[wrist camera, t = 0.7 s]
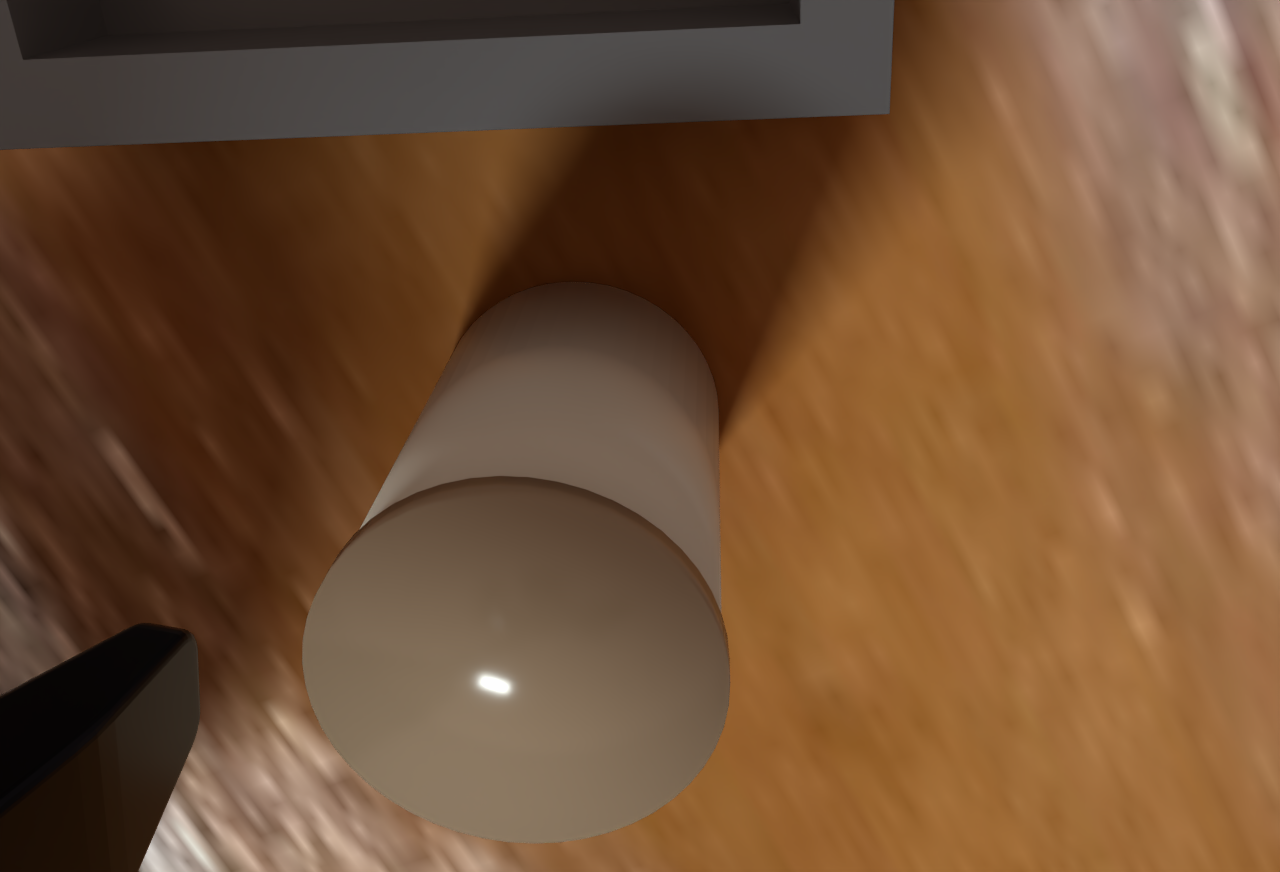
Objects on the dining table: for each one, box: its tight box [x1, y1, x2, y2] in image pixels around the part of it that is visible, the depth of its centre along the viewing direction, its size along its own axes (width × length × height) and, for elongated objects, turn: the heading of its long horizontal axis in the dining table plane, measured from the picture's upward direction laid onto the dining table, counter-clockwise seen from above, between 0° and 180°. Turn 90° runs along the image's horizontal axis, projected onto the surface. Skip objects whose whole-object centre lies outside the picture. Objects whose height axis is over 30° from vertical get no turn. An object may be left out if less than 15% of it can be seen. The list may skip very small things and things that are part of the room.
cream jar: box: [302, 282, 730, 843], centre depth 18 cm, size 5×5×8 cm
